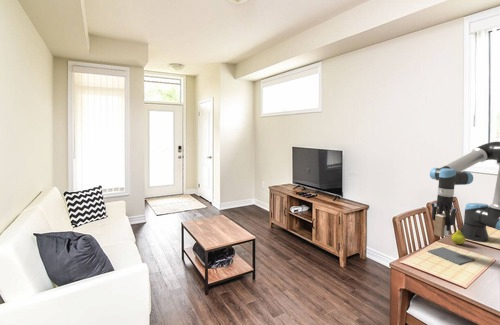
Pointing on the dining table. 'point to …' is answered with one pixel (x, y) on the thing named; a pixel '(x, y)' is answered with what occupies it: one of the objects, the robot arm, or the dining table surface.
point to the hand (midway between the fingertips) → (441, 234)
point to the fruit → (458, 237)
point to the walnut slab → (440, 224)
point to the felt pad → (451, 255)
